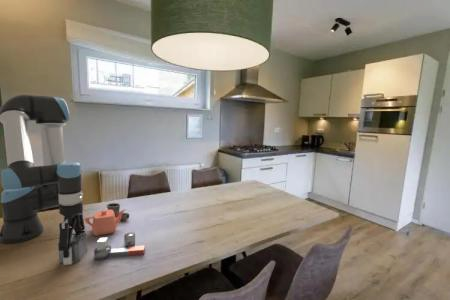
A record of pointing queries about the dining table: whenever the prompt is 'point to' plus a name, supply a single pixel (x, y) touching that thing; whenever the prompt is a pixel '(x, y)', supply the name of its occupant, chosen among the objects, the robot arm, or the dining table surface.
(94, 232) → the teapot
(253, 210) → the dining table surface
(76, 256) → the grey square box
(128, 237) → the socket
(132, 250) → the ratchet
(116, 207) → the pipe
